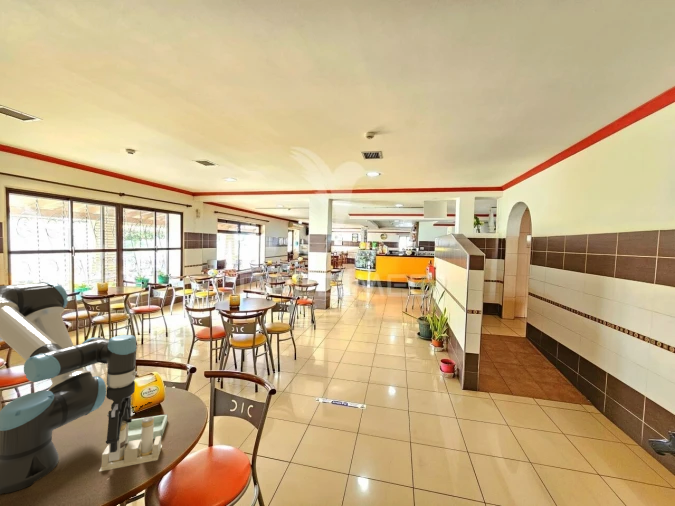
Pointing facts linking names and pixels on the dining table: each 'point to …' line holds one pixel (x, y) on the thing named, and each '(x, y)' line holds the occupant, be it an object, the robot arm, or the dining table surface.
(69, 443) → the dining table surface
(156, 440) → the fuse holder
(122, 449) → the fuse
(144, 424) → the fuse
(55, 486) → the dining table surface
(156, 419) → the parts tray
